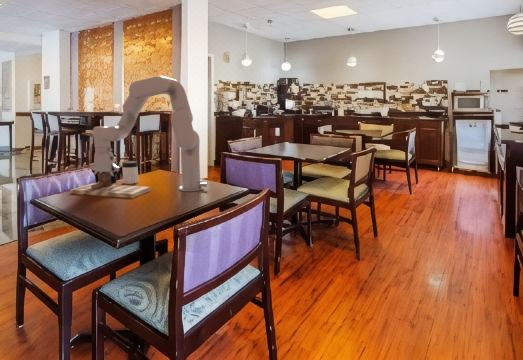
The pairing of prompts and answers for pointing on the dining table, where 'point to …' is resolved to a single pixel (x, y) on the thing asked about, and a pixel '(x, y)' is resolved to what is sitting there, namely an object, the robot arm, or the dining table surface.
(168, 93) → the robot arm
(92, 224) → the dining table surface
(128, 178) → the jar
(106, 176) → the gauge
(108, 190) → the board
